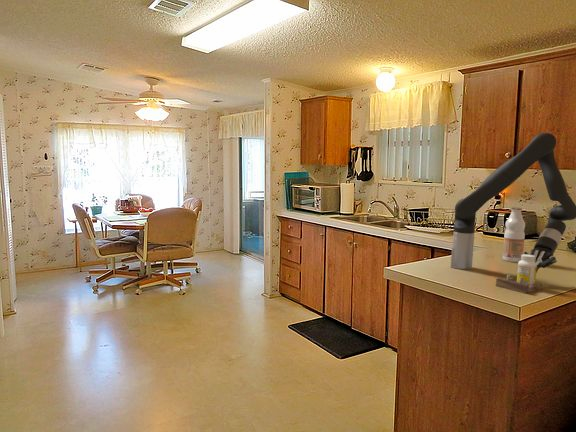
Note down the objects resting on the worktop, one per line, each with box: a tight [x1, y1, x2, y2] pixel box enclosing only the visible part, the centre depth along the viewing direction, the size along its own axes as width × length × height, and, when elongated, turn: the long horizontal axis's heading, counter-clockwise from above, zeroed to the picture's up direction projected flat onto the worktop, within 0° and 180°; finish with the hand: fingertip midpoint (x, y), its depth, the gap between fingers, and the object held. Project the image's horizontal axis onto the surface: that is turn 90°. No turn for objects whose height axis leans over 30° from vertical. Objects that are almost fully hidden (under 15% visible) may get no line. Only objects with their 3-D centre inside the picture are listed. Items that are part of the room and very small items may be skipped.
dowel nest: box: [495, 274, 543, 294], centre depth 169 cm, size 12×12×5 cm
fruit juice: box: [502, 206, 526, 263], centre depth 218 cm, size 9×9×28 cm
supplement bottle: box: [516, 253, 537, 286], centre depth 170 cm, size 7×7×13 cm
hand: (531, 273), depth 173 cm, fingers closed
